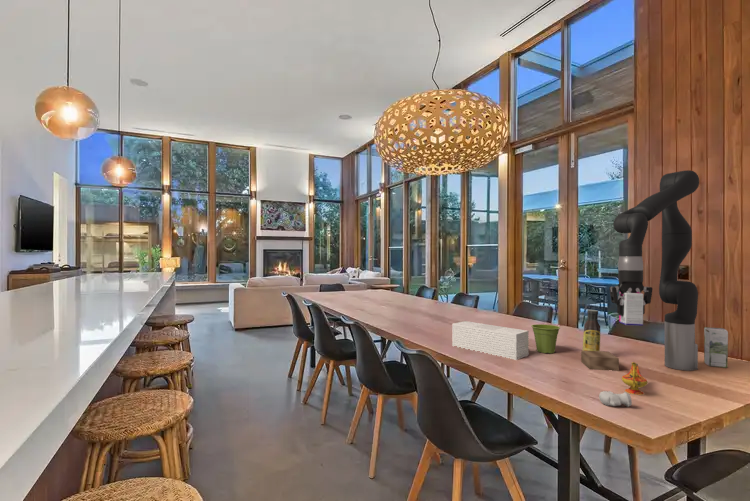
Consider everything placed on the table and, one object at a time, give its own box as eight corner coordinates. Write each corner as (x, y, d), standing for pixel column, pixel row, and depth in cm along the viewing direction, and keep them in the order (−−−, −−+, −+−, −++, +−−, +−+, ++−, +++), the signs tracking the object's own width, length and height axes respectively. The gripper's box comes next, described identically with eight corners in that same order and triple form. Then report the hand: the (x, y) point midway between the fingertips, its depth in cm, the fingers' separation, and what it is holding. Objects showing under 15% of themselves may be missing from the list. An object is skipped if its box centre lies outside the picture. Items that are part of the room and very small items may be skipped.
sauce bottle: (583, 358, 162) (583, 310, 162) (581, 354, 168) (581, 308, 168) (601, 360, 160) (601, 311, 160) (599, 356, 165) (599, 309, 166)
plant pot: (561, 350, 175) (561, 325, 175) (558, 356, 165) (558, 330, 165) (533, 347, 181) (533, 323, 181) (528, 352, 171) (528, 327, 171)
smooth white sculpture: (599, 409, 113) (599, 398, 117) (632, 414, 109) (630, 403, 113) (599, 396, 112) (598, 386, 116) (632, 401, 108) (630, 390, 112)
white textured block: (452, 346, 183) (452, 323, 183) (465, 343, 191) (465, 321, 191) (516, 360, 160) (516, 334, 160) (528, 355, 167) (528, 330, 167)
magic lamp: (647, 384, 130) (647, 351, 130) (647, 401, 115) (647, 364, 115) (623, 380, 134) (623, 348, 134) (620, 396, 119) (620, 360, 119)
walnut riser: (608, 364, 155) (608, 351, 155) (618, 371, 145) (618, 358, 145) (581, 362, 157) (581, 350, 157) (589, 370, 147) (589, 356, 147)
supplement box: (644, 326, 137) (643, 293, 137) (625, 325, 138) (625, 293, 138) (636, 323, 143) (636, 291, 143) (618, 322, 144) (618, 291, 144)
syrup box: (722, 364, 154) (722, 327, 154) (728, 368, 148) (728, 330, 148) (703, 362, 156) (703, 326, 156) (709, 366, 151) (709, 329, 151)
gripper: (644, 268, 144) (645, 314, 144) (604, 268, 145) (604, 313, 145) (658, 269, 136) (658, 317, 136) (615, 269, 137) (615, 317, 137)
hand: (630, 315), depth 140 cm, fingers closed on supplement box, 6 cm apart
